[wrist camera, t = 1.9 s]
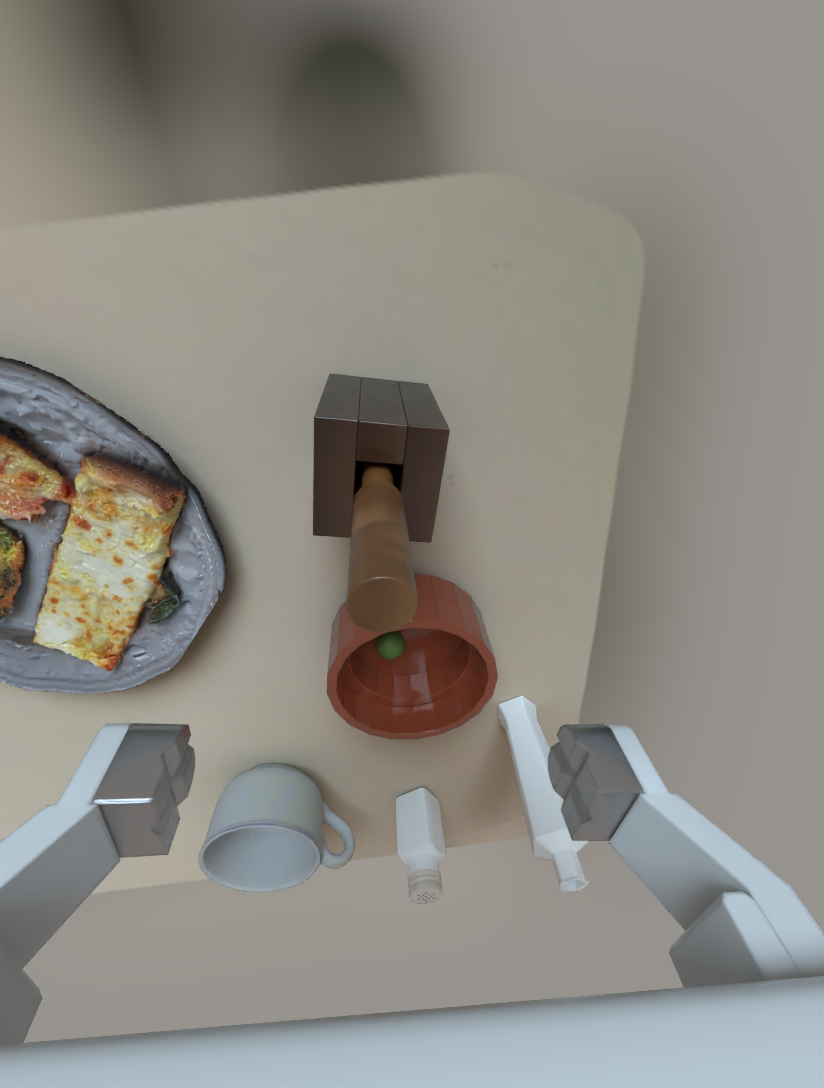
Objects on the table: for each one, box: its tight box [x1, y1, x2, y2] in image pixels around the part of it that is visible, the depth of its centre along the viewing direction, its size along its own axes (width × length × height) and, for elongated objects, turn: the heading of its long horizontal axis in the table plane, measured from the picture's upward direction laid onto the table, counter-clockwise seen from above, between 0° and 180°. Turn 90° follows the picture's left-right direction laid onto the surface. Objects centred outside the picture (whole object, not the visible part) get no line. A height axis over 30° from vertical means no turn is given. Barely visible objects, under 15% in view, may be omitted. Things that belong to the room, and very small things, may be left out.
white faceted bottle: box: [498, 696, 589, 892], centre depth 39 cm, size 5×4×15 cm
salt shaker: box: [395, 788, 446, 904], centre depth 48 cm, size 4×4×10 cm
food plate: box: [0, 357, 227, 694], centre depth 30 cm, size 25×23×4 cm
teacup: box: [199, 764, 355, 893], centre depth 45 cm, size 14×11×8 cm
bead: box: [375, 631, 405, 660], centre depth 37 cm, size 2×2×2 cm
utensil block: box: [313, 374, 450, 542], centre depth 25 cm, size 6×6×9 cm
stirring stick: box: [347, 461, 418, 632], centre depth 22 cm, size 2×2×18 cm
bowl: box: [327, 574, 498, 739], centre depth 36 cm, size 12×12×6 cm
